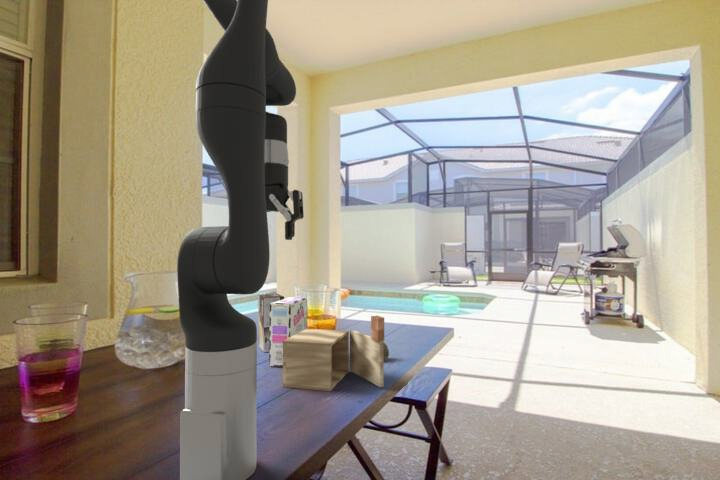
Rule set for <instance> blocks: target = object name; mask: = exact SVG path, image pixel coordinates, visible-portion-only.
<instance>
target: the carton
mask: <svg viewBox="0 0 720 480" xmlns="http://www.w3.org/2000/svg"><path fill="white" fill-rule="evenodd" d="M349 371H350V330H346V329H344V330H342V329H341V330H340V329H339V330H338V329H325V328H324V329H321V328H317V329H316V328H307V329H305V330H303V331H301V332H299V333H297V334H295V335H293V336H291V337H289V338H288V339H286V340H284V341H283V367H282V387H283V388H292V389H302V390H304V389H306V390H313V391H327V392H331V391H332V390H333V389H334V388H335V387H336V386H337V385H338V384H339V383H340V382H341V381H342V380H343V378H344V377H345V376H347V374H348V373H349Z"/></svg>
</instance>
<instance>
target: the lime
mask: <svg viewBox="0 0 720 480" xmlns="http://www.w3.org/2000/svg"><path fill="white" fill-rule="evenodd" d="M389 355H390V352H389V348H388V345H387V344H386V343H385V341H383V362H386V361H387V360H388V358H389Z"/></svg>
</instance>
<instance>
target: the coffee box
mask: <svg viewBox="0 0 720 480" xmlns="http://www.w3.org/2000/svg"><path fill="white" fill-rule="evenodd" d="M257 299H258V303H257V304H258V308H257V309H258V312H257V313H258V315H257V316H258V330H257V331H258V333H257V335H258V336H257V337H258V338H257V341H258V343H257V347H258V348H259V349H260V350H261V351H262V352H263V353H269V334H270V333H269V332H270V329H269V328H270V303H273V302H276V301H280V300H283V299H285V296H284V295H281V294H278V293H267V294H258V297H257Z"/></svg>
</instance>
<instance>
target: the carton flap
mask: <svg viewBox="0 0 720 480" xmlns="http://www.w3.org/2000/svg"><path fill="white" fill-rule="evenodd" d="M383 342H385V317H384V316H379V315H371V316H370V335H368V334H365V333H362V332H359V331H358V330H354V329H349V371H351V372H352V373H354V374H356V375H358V376H359V377H362V378H363V379H365V380H366V381H368V382H370V383H372V384H374V385H375V386H377V387H379V388H384V385H385V383H384V361H383Z"/></svg>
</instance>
